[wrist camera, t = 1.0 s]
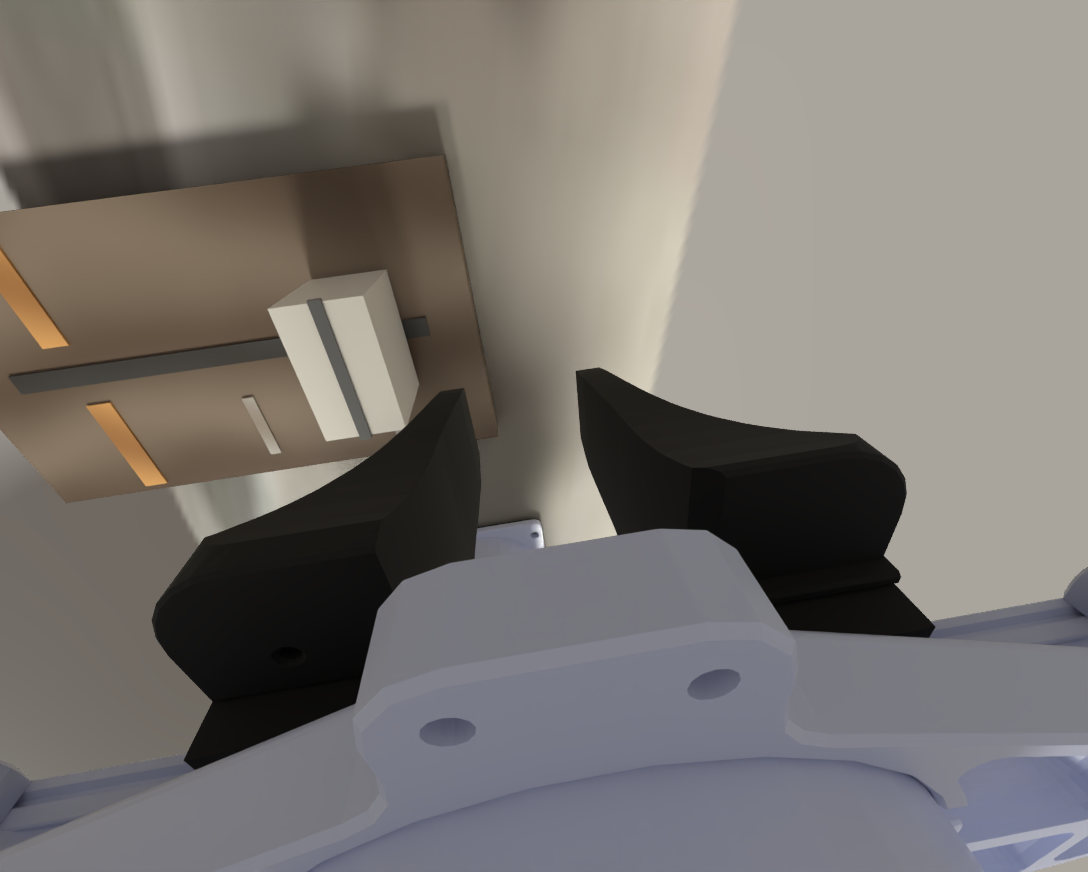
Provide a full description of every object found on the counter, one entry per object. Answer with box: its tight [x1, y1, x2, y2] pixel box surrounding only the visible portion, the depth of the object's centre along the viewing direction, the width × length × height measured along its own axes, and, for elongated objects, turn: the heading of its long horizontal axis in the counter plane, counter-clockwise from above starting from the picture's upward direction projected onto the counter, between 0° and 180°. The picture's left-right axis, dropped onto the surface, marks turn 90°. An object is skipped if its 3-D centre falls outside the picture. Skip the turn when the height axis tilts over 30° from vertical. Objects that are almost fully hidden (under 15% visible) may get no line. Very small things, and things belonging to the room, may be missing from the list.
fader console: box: [0, 155, 498, 503], centre depth 19 cm, size 12×21×2 cm, turn 96°
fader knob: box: [268, 270, 419, 441], centre depth 17 cm, size 5×3×4 cm, turn 6°
